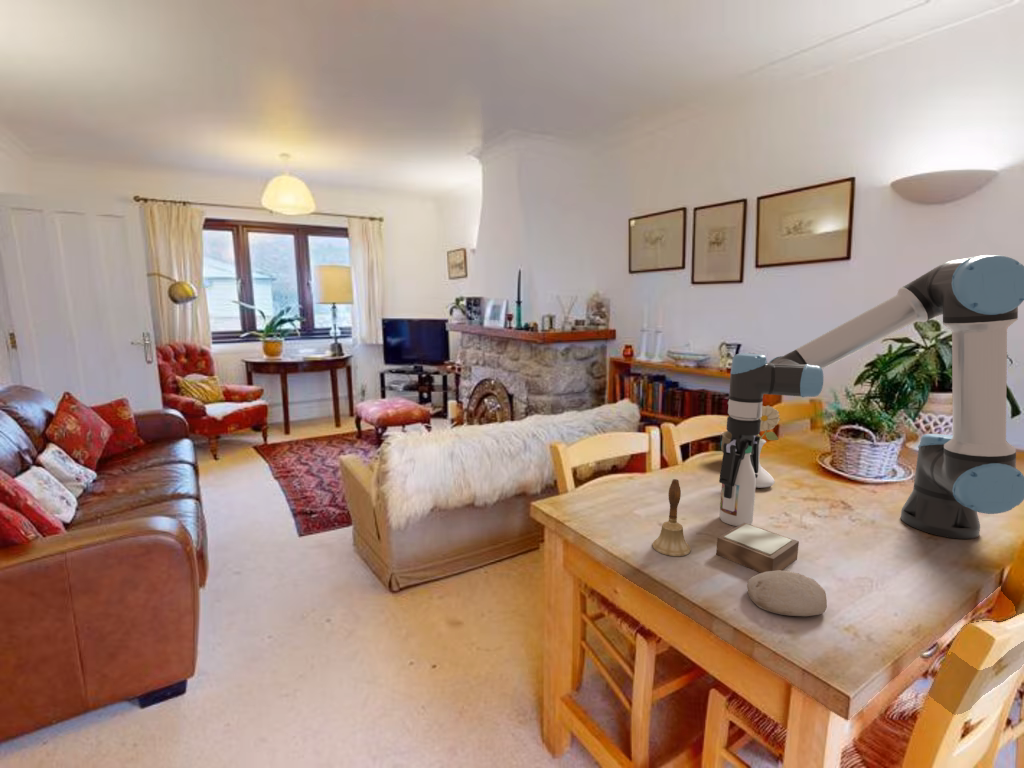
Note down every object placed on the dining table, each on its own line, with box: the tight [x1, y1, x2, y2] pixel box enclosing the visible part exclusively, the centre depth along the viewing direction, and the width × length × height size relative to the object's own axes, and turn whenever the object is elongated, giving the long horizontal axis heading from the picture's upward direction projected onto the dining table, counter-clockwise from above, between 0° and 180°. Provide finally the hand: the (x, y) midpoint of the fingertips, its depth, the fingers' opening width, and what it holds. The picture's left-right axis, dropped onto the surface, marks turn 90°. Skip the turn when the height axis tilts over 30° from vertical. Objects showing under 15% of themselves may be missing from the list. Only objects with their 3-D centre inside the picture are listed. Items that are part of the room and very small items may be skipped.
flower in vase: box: [755, 405, 781, 489], centre depth 153 cm, size 13×11×25 cm
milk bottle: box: [719, 445, 756, 527], centre depth 128 cm, size 8×8×20 cm
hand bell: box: [651, 478, 692, 557], centre depth 114 cm, size 8×8×16 cm
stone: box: [746, 569, 828, 617], centre depth 94 cm, size 13×10×8 cm
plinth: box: [716, 523, 800, 574], centre depth 111 cm, size 12×12×4 cm
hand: (736, 505), depth 129 cm, fingers closed on milk bottle, 8 cm apart
